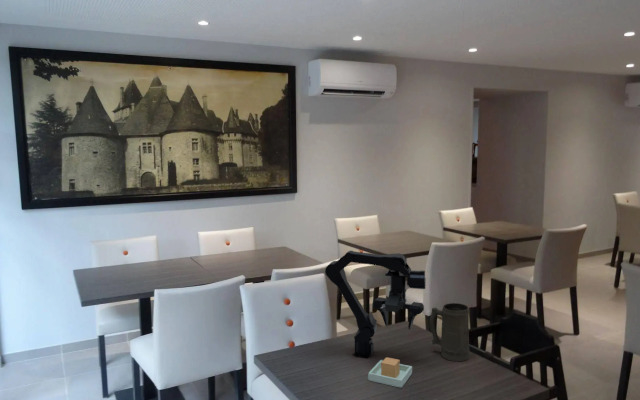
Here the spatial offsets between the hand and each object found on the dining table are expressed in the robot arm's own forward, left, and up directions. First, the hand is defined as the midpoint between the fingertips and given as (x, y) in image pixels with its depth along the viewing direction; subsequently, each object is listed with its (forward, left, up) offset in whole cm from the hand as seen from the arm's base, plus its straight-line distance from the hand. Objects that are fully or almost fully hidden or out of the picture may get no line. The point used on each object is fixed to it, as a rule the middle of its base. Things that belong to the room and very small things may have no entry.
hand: (397, 327), depth 183 cm
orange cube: (+3, -16, -11) cm, 20 cm away
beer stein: (+17, +11, -12) cm, 24 cm away
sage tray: (+3, -16, -12) cm, 21 cm away
